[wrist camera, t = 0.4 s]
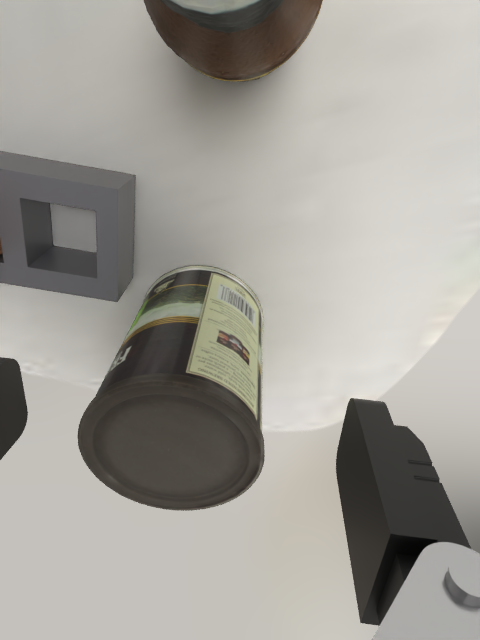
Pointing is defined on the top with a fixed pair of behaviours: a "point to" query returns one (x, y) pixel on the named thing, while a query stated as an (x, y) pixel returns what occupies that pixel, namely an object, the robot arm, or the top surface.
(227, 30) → the sauce bottle
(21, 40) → the top surface
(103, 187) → the grey block holder
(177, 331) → the coffee can
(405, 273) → the top surface
